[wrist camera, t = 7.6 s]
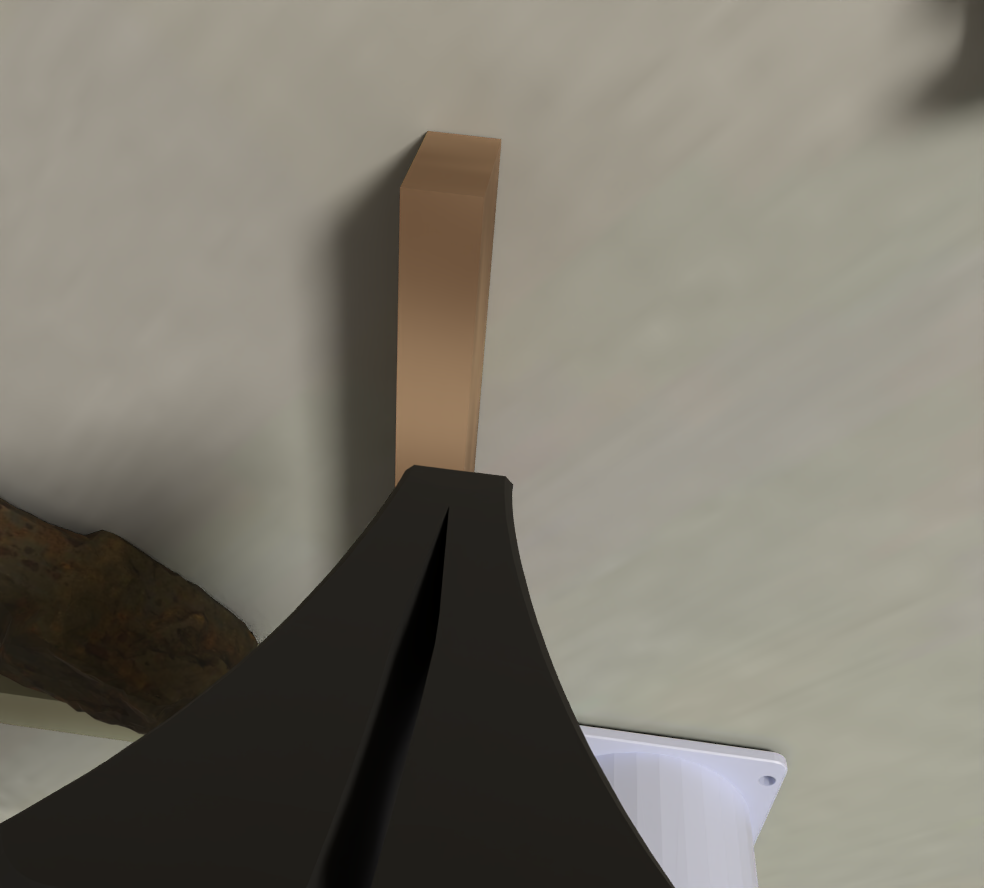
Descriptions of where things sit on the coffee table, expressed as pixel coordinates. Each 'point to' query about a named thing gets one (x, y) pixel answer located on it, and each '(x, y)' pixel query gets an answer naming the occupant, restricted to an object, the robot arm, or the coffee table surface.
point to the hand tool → (107, 624)
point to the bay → (398, 346)
